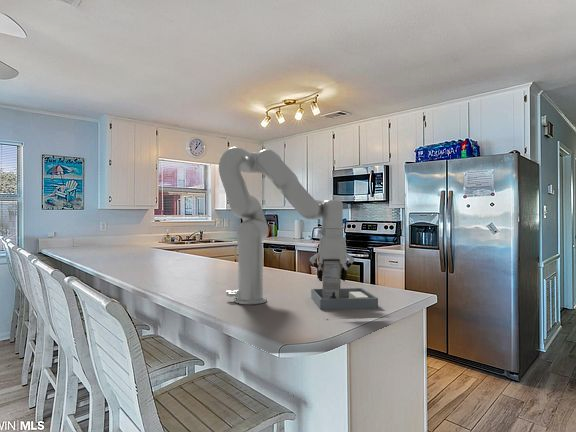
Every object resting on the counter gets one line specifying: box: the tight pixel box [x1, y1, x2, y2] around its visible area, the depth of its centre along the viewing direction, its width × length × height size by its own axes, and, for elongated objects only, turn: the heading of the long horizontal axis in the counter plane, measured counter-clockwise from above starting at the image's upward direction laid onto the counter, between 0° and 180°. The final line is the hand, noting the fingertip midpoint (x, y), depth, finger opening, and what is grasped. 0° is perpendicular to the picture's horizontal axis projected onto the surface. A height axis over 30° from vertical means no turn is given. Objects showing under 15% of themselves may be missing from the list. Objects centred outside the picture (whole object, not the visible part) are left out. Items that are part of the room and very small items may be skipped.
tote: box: [310, 287, 379, 311], centre depth 135 cm, size 21×19×4 cm
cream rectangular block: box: [349, 292, 369, 298], centre depth 136 cm, size 4×10×3 cm, turn 6°
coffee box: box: [322, 259, 342, 299], centre depth 135 cm, size 9×6×16 cm
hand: (331, 280), depth 135 cm, fingers open, 8 cm apart
